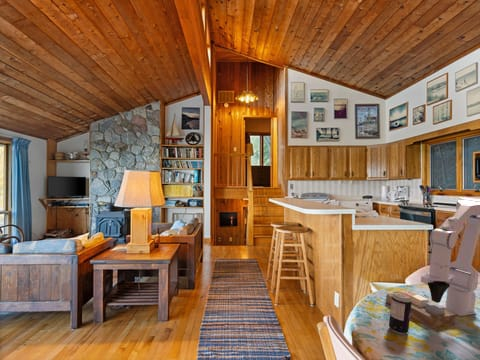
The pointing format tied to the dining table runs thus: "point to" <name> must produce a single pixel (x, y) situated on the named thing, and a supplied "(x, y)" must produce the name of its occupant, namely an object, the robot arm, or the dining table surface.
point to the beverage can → (400, 312)
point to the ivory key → (419, 300)
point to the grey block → (435, 308)
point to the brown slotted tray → (428, 315)
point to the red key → (407, 293)
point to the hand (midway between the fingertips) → (435, 301)
